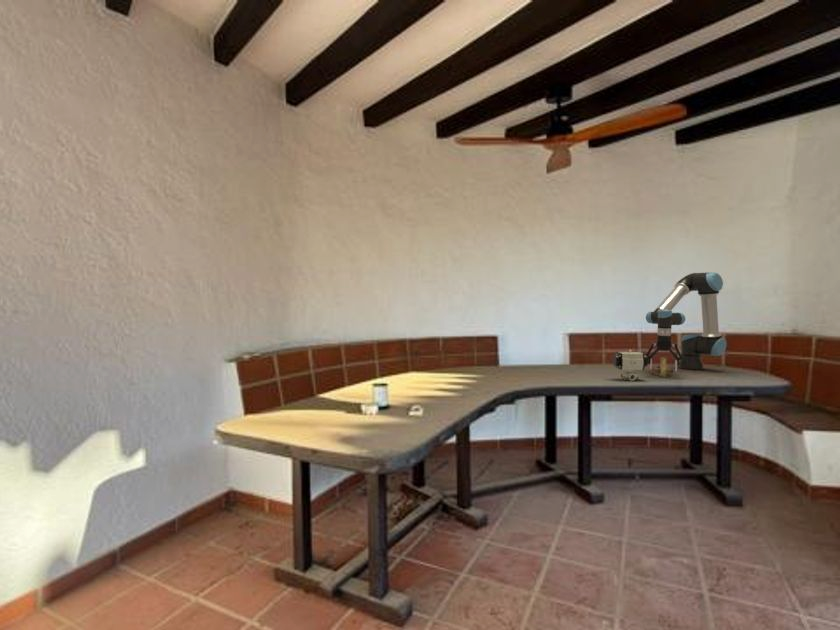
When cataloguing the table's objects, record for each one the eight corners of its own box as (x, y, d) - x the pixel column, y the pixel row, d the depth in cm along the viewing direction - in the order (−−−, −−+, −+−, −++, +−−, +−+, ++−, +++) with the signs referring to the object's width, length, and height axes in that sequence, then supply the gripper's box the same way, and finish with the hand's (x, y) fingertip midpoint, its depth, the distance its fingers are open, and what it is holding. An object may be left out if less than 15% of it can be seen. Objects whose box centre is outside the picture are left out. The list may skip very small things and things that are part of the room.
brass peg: (665, 377, 291) (666, 357, 290) (666, 378, 288) (666, 358, 288) (660, 376, 292) (660, 357, 292) (660, 377, 289) (661, 357, 289)
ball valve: (616, 381, 278) (617, 350, 277) (612, 378, 287) (612, 349, 286) (648, 381, 277) (649, 351, 276) (643, 378, 285) (643, 349, 284)
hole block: (669, 372, 309) (670, 366, 309) (673, 376, 294) (673, 369, 294) (649, 371, 313) (649, 365, 313) (651, 375, 298) (651, 368, 298)
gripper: (641, 334, 290) (641, 369, 291) (688, 336, 281) (687, 372, 282) (641, 334, 297) (640, 368, 298) (686, 335, 288) (685, 370, 289)
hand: (663, 370), depth 290 cm, fingers open, 13 cm apart
